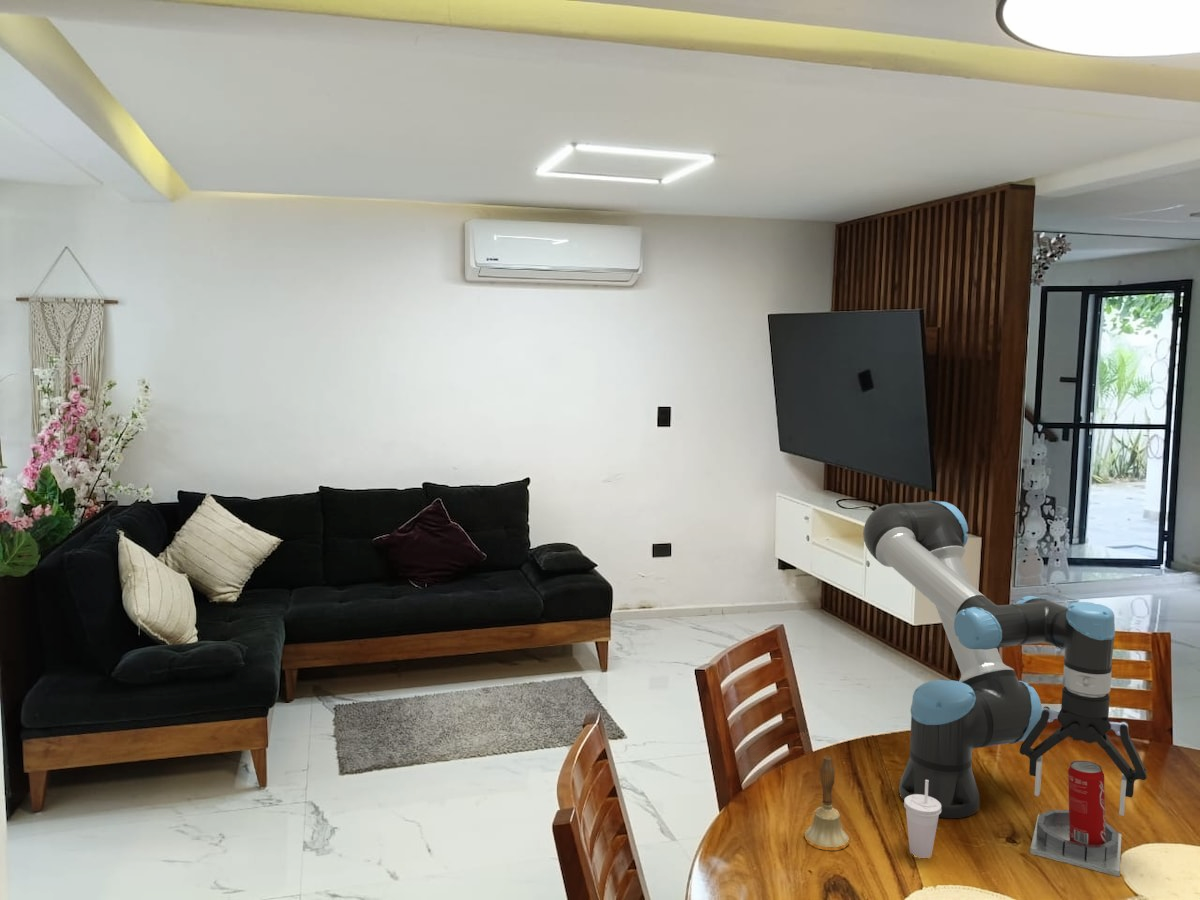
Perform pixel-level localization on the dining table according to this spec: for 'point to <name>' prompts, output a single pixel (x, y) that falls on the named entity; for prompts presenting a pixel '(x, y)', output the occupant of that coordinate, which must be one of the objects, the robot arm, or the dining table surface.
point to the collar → (1074, 844)
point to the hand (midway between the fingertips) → (1078, 802)
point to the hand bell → (827, 814)
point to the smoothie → (922, 822)
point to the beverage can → (1086, 803)
